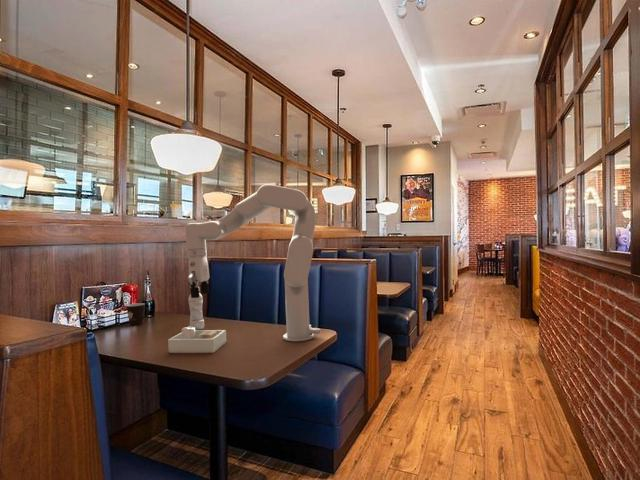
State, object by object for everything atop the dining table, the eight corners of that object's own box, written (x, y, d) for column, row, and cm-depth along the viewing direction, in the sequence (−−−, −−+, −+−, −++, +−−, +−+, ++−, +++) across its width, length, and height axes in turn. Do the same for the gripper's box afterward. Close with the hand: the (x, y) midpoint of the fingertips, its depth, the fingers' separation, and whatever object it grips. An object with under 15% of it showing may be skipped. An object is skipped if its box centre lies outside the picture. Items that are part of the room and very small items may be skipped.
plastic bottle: (200, 332, 178) (198, 288, 178) (186, 331, 179) (184, 288, 179) (207, 328, 184) (205, 286, 184) (194, 328, 186) (192, 286, 185)
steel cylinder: (197, 344, 155) (197, 326, 155) (191, 348, 150) (191, 330, 150) (186, 343, 156) (185, 326, 156) (179, 347, 151) (179, 329, 151)
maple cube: (217, 343, 155) (216, 331, 155) (212, 347, 150) (211, 334, 150) (204, 344, 155) (204, 331, 155) (199, 347, 150) (199, 334, 150)
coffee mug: (125, 324, 200) (124, 305, 200) (142, 321, 206) (141, 302, 206) (132, 328, 191) (131, 307, 191) (150, 324, 197) (149, 304, 197)
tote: (226, 342, 159) (225, 330, 159) (213, 352, 145) (213, 339, 145) (184, 342, 161) (184, 330, 161) (168, 353, 147) (168, 339, 147)
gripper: (197, 254, 149) (200, 298, 150) (213, 251, 167) (216, 291, 167) (178, 255, 150) (182, 299, 151) (196, 252, 167) (199, 292, 168)
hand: (200, 295), depth 159 cm, fingers open, 9 cm apart
